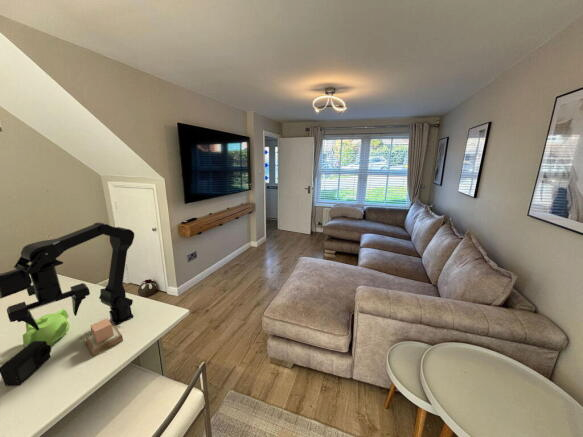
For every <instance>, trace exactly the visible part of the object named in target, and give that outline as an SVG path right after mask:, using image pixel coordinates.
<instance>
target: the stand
mask: <svg viewBox="0 0 583 437" xmlns="http://www.w3.org/2000/svg"><path fill="white" fill-rule="evenodd" d="M115 325H116V324H115V323H114V324H112V329H113V333H114V336H112V337H110V338H107V339H105V340H103V341H101V342H99V343H97V342H96V341H95V339H94V337H93V334H92V333H91V334H90V335H87V336H84V340H85V341H84V342H85V345H86V346H87V347H88V349H89V351H90V352H91V355H92V356H93V357H95V356H96V355H98V354H100V353H102V352H104V351H106V350H108V349H110V348H112V347H114V346H116V345H117V344H120V343H121V342H123V341H124V338H123V337H124V336H123V334H122V333H121V332H120V331H119V329H118V328H117V327H116V326H115Z"/></svg>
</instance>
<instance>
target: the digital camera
mask: <svg viewBox="0 0 583 437" xmlns="http://www.w3.org/2000/svg"><path fill="white" fill-rule="evenodd" d="M51 352H52V346H50V345H47V343H46V341H33V342H31V343H30V344H29V345H25V347H24V348H23V349H21V350H20V351H19V352H17V353H16V354H15V355H13V356H12V357H11V358H10V359H8V360H7V361H5V363H3V364H2V365H1V366H0V376H1V378H2V381H3V384H4V386H5V387H10V386H12V387H13V386H19V387H20V386H22V384H24V382H25V381H27V380H28V379H30V378H31V376H33V374H35V373H36V372H37V371H38V370H39V369H40V368H41V367H42V366H44V364H45V363H46V362H47V361H48V360H50V359H51V358H52V357H51Z"/></svg>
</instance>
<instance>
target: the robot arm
mask: <svg viewBox="0 0 583 437" xmlns="http://www.w3.org/2000/svg"><path fill="white" fill-rule="evenodd" d="M103 235H105V236H109V243H110V246H111V249H112V253H111V258H110V259H111V260H110V266H109V275H108V282H107V285H106V286H105V287H104V288H100V290H99V291H100V292H99V293H100V294H99V297H98V299H99V300H100V303H101V304H103V305H105V306H108V307H109V309H110V311H109V317H110V321H112V323H114V325H119V324H121V323H124V322H126V321H128V320H130V319H133V318H134V314H133V313H132V312H133V311H132V307H131V306H132V305H133V302H134V300H133V299H131V298H128V297H127V296H126V295H127V294H126V289H125V287H124V284H123V283H124V277H125V276H124V275H125V268H126V263H127V262H126V261H127V255H128V249H130V248H131V246H132V245H133V242H134V239H135V232H134V231H133V230H132V229H129V228H125V227H120V226H117V227H115V226H112V225H109V224H107V223H104V222H99V221H98V222H95V223H93V224H92V225H89V226H87V227H84V228H81V229H79V230H76V231H73V232H71V233H69V234H66V235H63V236H60V237H58V238H54V239H52V238H51V239H45V240H41V241H36V242H33V243H29V244H26V245H25V246H23V248H22V250H21V251H20V256H19V259H18V260H17V262H15V265H14V266H13V268H14V269H13V270H10V271H6V272H3V273H0V300H2V299H3V298H7V297H9V296H12V295H15V294H18V293H19V292H23V291H25V290H26V292H27V295H28V296H29V297H30V296H35V298H36V300H37V301H35V302H34V301H33V302H32V303H29V304H26V301H22V302H19V303H15V304H13V305H10V306H8V307H7V308H6V313H7V316H8V317H7V318H8V319H9V320H8V321H9V323H14V322H17V323H20V322H24V323H25V324H26V323H28V324H30V325H31V326H32V327H34V328H35V329H36V330H39V327H38V325H37V323H36V321H35V318H34V315H32V313H31V311H32V310H35V309H38V308H42V307H44V306H47V305H50V304H53V303H56V302H59V301H62V300H65V299H67V298H70V297H71V302H72V303H71V304H72V311H73V312H72V313H73V315H74V316H77V315H78V311H79V308H80V306H81V304H82V302H83V300H85V299H86V297H88V296H90V294H91V292H90V288H89V287H88V286H87V284H86V283H84V282H81V283H79V284H76V285H72V286H70V290H68V291H65V292H63V290H62V288H61V283H60V280H59V276H58V273H57V270H56V267H58V266H60V265H63V264H64V261H61V260H59V259H57V258H59V257H61V255H62V254H63V253H64V252H65V251H67V250H70V249H72V248H75V247H76V246H79V245H81V244H84V243H86V242H88V241H91V240H93V239H95V238H98V237H99V236H103ZM29 263H30V264H29Z"/></svg>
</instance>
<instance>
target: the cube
mask: <svg viewBox="0 0 583 437" xmlns="http://www.w3.org/2000/svg"><path fill="white" fill-rule="evenodd" d="M109 320H110V319H108V318H104V319H102V320H99V321H98V322H94V323H93V324H90V330H91V334H93V337H94V339H95V341H96V342H97V343H99V342H101V341H103V340H105V339H107V338H110V337H112V336H114V333H113V329H112V325H113V324H112V323H111V322H110V321H111V320H110V321H109Z"/></svg>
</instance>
